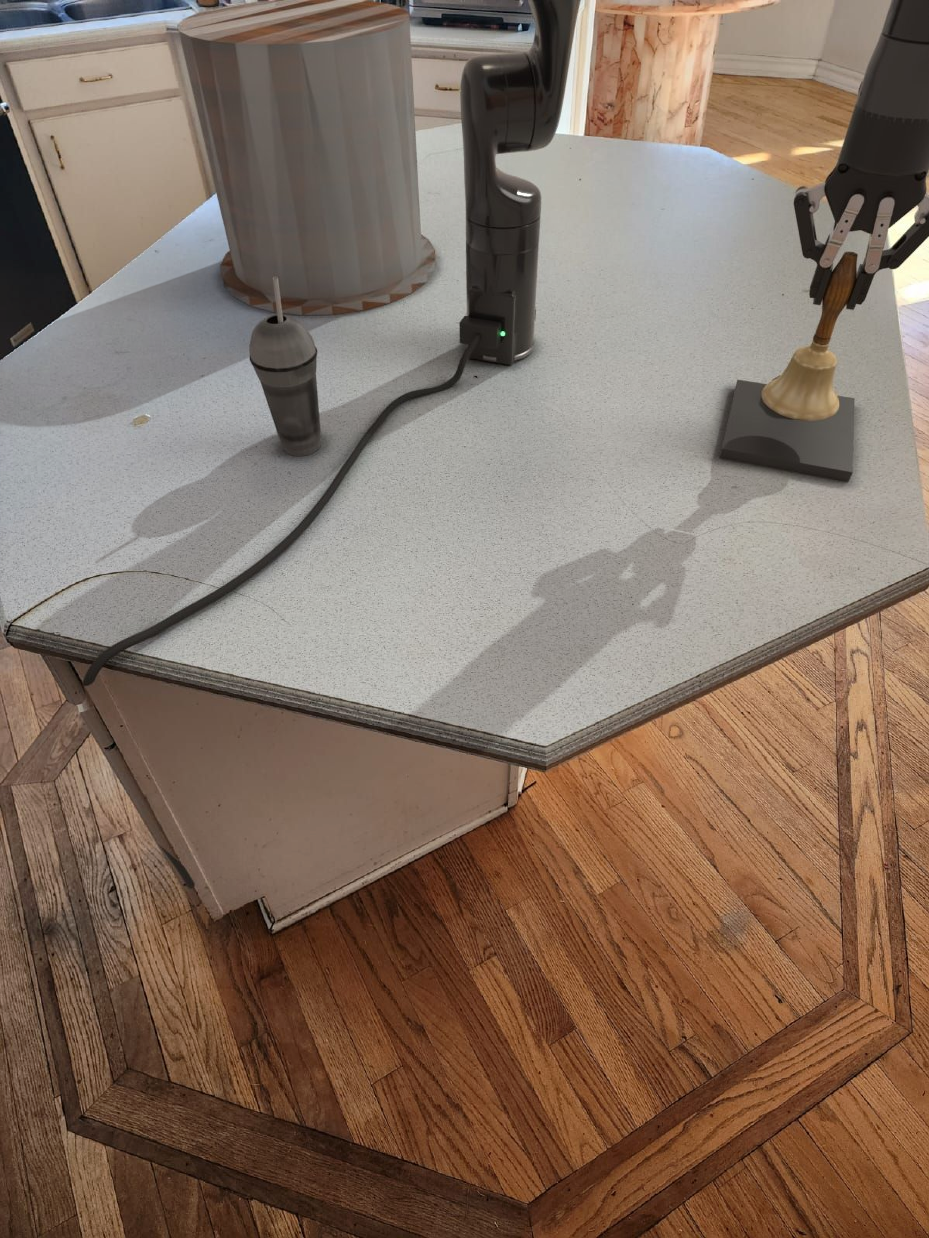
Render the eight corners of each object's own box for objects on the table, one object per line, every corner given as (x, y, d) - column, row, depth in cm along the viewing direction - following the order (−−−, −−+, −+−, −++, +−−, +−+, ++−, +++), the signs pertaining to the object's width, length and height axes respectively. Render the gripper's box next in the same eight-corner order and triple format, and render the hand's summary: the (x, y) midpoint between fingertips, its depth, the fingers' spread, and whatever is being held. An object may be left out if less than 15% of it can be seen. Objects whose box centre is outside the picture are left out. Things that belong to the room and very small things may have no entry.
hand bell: (827, 429, 81) (888, 278, 69) (750, 407, 84) (797, 258, 72) (847, 394, 85) (907, 247, 74) (774, 374, 88) (820, 230, 77)
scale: (848, 482, 84) (858, 460, 81) (718, 458, 87) (725, 436, 85) (850, 406, 94) (859, 384, 92) (735, 387, 97) (741, 365, 95)
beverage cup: (304, 421, 93) (271, 254, 79) (345, 442, 90) (319, 272, 76) (258, 448, 90) (214, 278, 75) (300, 470, 86) (263, 297, 72)
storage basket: (478, 255, 127) (478, 10, 103) (334, 337, 108) (293, 61, 84) (327, 211, 141) (296, -12, 117) (176, 277, 122) (104, 27, 99)
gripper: (815, 107, 63) (758, 310, 76) (1001, 121, 60) (909, 331, 72) (819, 85, 68) (765, 279, 80) (991, 97, 64) (907, 298, 77)
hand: (833, 303), depth 76 cm, fingers closed on hand bell, 2 cm apart
